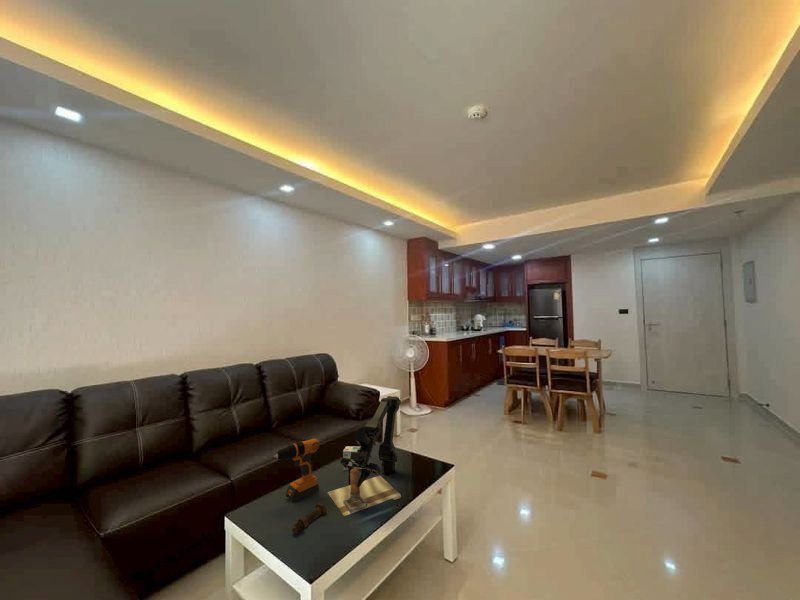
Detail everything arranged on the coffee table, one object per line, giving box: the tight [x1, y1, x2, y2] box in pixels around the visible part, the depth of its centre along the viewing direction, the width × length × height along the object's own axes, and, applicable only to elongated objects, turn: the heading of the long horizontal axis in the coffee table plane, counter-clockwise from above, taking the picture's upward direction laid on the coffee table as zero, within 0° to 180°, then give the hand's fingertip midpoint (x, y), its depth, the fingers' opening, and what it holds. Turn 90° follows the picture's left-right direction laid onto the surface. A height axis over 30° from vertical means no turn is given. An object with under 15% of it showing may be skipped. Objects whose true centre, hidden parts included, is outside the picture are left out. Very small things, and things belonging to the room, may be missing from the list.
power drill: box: [273, 438, 320, 502], centre depth 153 cm, size 22×7×25 cm, turn 134°
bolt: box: [291, 502, 327, 535], centre depth 134 cm, size 6×5×15 cm
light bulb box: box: [342, 445, 364, 472], centre depth 180 cm, size 11×7×11 cm, turn 84°
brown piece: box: [350, 468, 360, 501], centre depth 144 cm, size 4×4×12 cm
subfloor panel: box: [327, 475, 402, 517], centre depth 153 cm, size 28×21×3 cm
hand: (353, 486), depth 143 cm, fingers closed on brown piece, 4 cm apart
